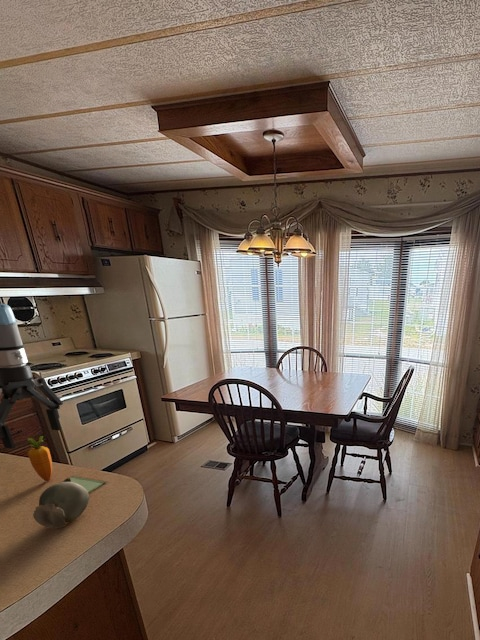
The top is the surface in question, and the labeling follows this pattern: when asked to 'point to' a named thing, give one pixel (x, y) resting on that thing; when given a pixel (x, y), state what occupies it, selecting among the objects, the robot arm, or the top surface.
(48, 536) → the top surface
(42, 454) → the carrot
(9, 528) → the top surface
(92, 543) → the top surface
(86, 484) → the tray
